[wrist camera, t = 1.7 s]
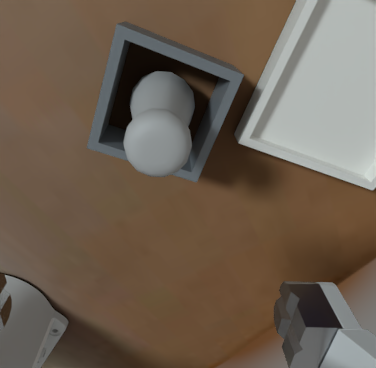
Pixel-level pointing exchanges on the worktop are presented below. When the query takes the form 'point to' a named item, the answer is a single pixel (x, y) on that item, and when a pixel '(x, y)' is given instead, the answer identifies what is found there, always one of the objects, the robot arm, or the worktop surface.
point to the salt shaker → (159, 124)
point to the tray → (320, 92)
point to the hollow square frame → (228, 74)
